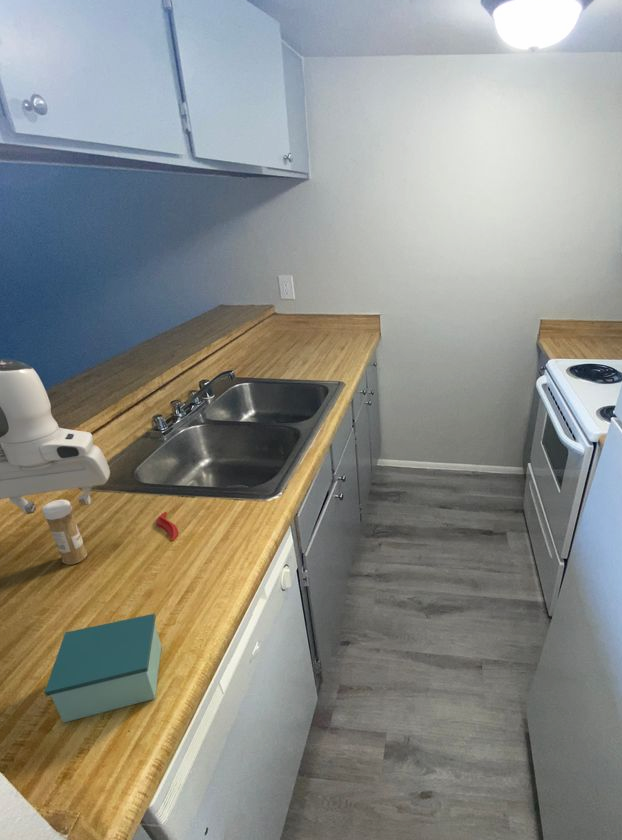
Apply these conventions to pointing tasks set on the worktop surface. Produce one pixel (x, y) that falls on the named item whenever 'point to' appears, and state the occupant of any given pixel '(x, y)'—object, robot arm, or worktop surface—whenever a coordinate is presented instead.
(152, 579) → the worktop surface
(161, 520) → the cayenne pepper
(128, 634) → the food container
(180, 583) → the worktop surface
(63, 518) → the sprinkles bottle
